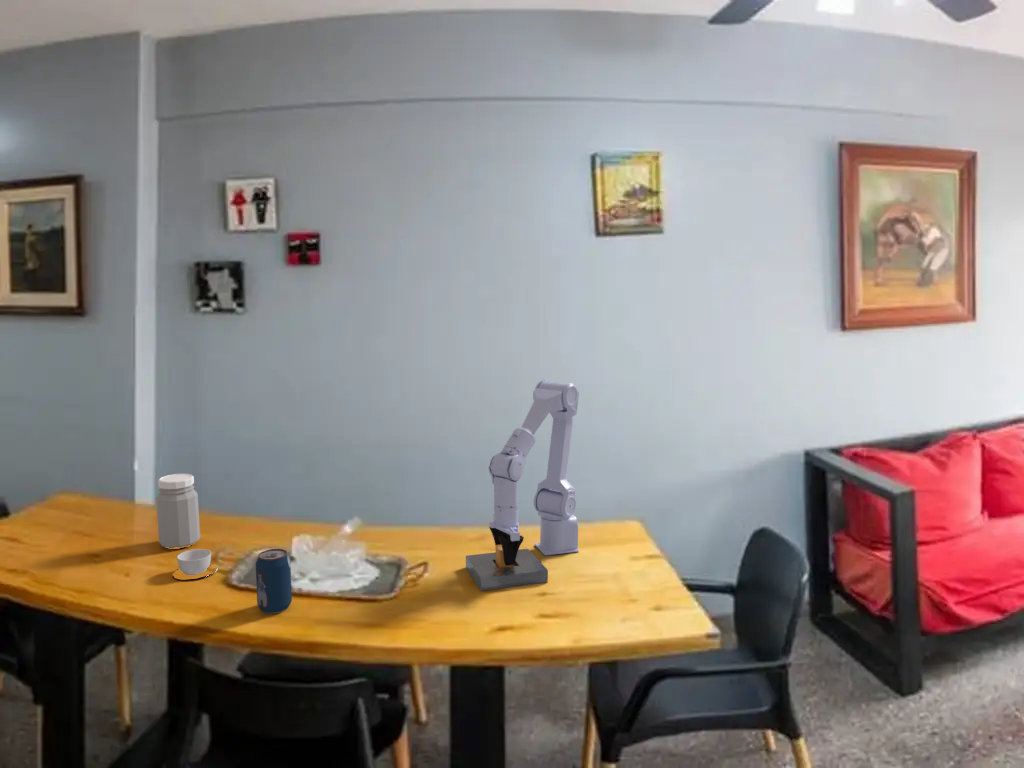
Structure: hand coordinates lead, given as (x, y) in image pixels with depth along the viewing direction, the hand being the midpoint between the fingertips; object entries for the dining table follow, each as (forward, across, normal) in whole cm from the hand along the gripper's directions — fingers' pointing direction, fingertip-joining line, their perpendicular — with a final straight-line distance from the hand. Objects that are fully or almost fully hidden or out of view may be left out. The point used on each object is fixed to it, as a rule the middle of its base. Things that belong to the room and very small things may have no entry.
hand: (505, 559), depth 167 cm
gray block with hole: (+4, 0, 0) cm, 4 cm away
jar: (+4, -44, -76) cm, 88 cm away
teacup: (+4, -23, -70) cm, 74 cm away
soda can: (+4, +2, -52) cm, 52 cm away
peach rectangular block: (+4, 0, 0) cm, 4 cm away
